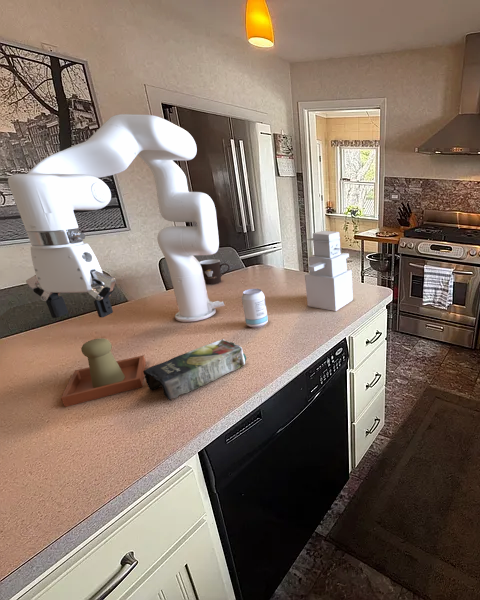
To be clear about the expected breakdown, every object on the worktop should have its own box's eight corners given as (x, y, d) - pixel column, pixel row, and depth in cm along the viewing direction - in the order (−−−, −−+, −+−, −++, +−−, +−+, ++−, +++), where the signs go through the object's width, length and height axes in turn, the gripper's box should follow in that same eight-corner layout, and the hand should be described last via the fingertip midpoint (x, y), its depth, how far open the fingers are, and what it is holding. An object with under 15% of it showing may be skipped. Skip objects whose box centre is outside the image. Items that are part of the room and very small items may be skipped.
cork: (106, 390, 76) (90, 348, 72) (85, 386, 77) (69, 345, 73) (131, 375, 81) (118, 336, 77) (111, 372, 82) (97, 333, 78)
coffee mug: (198, 284, 150) (193, 263, 146) (211, 279, 158) (207, 259, 154) (221, 286, 148) (217, 264, 145) (233, 280, 156) (229, 260, 152)
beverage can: (254, 319, 114) (249, 287, 110) (272, 321, 113) (267, 288, 109) (242, 327, 108) (235, 294, 104) (260, 330, 107) (255, 295, 102)
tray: (145, 362, 87) (143, 355, 87) (142, 386, 78) (139, 378, 77) (78, 378, 80) (74, 370, 80) (64, 407, 71) (60, 397, 70)
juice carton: (228, 353, 92) (224, 333, 90) (250, 363, 88) (246, 343, 85) (148, 390, 76) (140, 368, 74) (169, 405, 72) (162, 382, 69)
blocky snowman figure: (298, 311, 122) (290, 236, 112) (333, 292, 142) (328, 227, 132) (327, 316, 117) (321, 239, 107) (359, 296, 138) (356, 229, 128)
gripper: (114, 235, 71) (135, 308, 76) (30, 235, 70) (58, 309, 75) (85, 241, 63) (111, 321, 69) (-9, 241, 63) (25, 322, 68)
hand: (83, 315), depth 72 cm, fingers open, 9 cm apart
